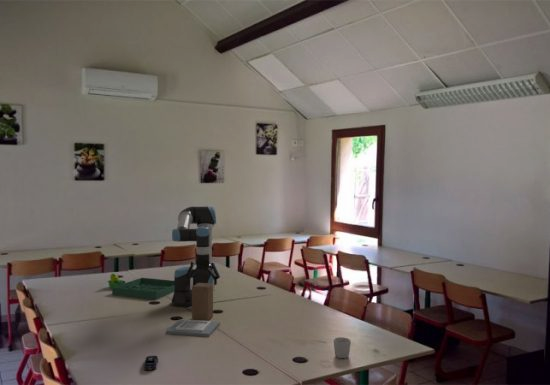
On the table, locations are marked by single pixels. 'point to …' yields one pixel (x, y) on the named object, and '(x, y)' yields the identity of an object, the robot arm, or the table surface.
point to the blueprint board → (193, 328)
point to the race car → (150, 362)
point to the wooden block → (202, 301)
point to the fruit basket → (115, 281)
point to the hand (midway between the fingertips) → (202, 289)
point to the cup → (342, 347)
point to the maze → (145, 288)
